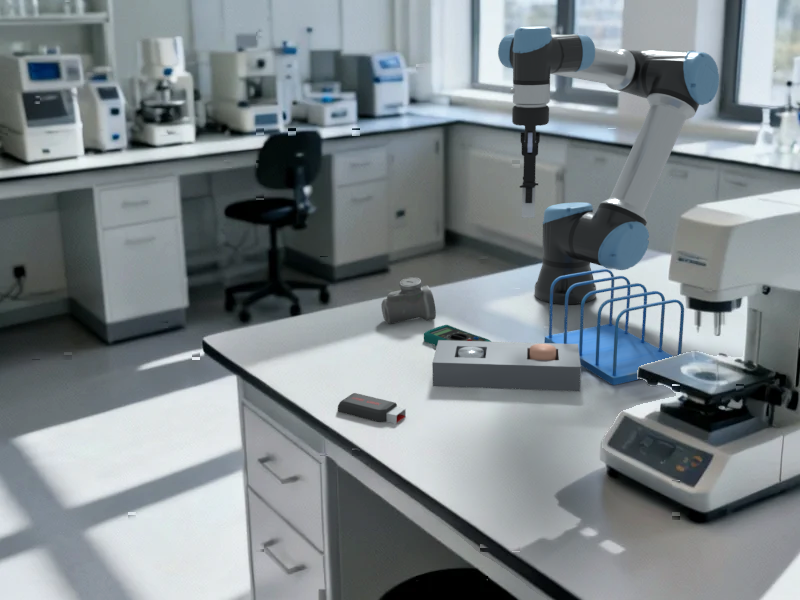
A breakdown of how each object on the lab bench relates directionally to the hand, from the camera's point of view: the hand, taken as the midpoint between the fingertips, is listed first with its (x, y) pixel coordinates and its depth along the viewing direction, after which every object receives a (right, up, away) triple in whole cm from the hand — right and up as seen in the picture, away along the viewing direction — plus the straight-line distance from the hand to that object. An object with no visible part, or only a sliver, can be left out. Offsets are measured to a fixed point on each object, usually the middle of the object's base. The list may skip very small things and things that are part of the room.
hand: (528, 216), depth 197 cm
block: (-6, -33, -15) cm, 37 cm away
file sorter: (+16, -30, -6) cm, 35 cm away
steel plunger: (-13, -32, -14) cm, 37 cm away
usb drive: (-32, -39, -29) cm, 58 cm away
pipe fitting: (-26, -23, +18) cm, 39 cm away
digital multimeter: (-15, -28, +2) cm, 32 cm away
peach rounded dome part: (0, -31, -17) cm, 35 cm away
